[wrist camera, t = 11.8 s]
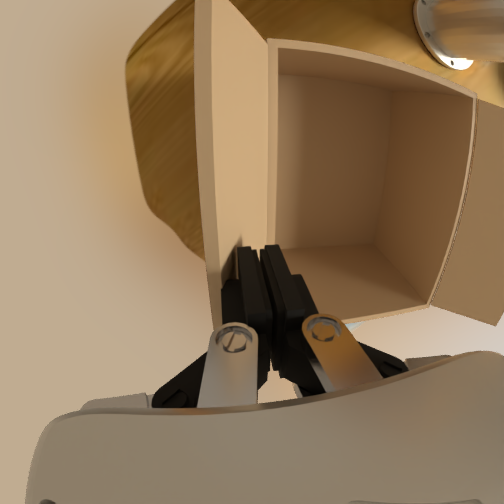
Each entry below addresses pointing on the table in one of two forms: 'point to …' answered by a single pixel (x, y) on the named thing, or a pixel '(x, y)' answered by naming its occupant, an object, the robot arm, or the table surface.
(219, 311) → the front flap
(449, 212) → the carton
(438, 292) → the back flap
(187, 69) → the table surface
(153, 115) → the table surface
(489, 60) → the robot arm
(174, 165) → the table surface
